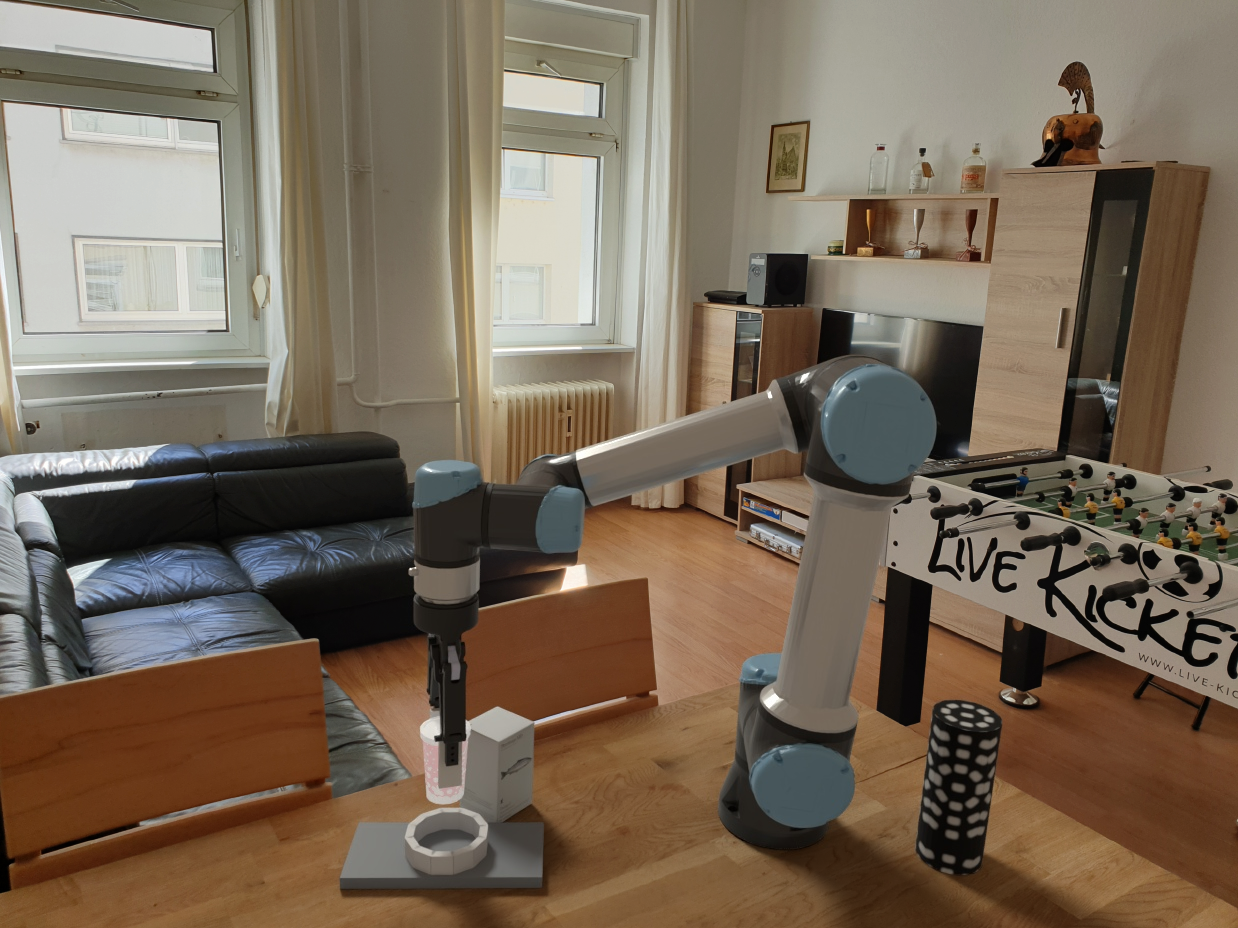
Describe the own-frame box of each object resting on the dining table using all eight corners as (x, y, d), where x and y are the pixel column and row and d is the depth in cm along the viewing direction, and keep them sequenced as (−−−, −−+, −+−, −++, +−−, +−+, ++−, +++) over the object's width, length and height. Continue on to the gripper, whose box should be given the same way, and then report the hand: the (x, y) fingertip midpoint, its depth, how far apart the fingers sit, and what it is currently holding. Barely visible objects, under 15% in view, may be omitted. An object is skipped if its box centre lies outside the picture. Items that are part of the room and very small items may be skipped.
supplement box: (496, 828, 125) (497, 742, 122) (457, 807, 129) (457, 723, 126) (534, 804, 131) (536, 721, 128) (495, 784, 135) (496, 703, 132)
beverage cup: (440, 814, 112) (440, 706, 109) (409, 792, 116) (409, 688, 113) (480, 794, 117) (482, 690, 113) (449, 774, 121) (450, 673, 117)
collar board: (543, 832, 125) (544, 805, 124) (541, 887, 114) (542, 858, 113) (359, 832, 123) (358, 805, 122) (339, 888, 112) (338, 859, 111)
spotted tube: (912, 864, 121) (930, 722, 117) (917, 828, 129) (934, 694, 124) (981, 882, 118) (1002, 737, 114) (982, 844, 126) (1002, 707, 121)
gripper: (403, 567, 118) (404, 735, 123) (425, 627, 100) (425, 819, 106) (463, 563, 120) (461, 728, 126) (495, 621, 103) (491, 809, 108)
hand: (445, 769), depth 116 cm, fingers closed on beverage cup, 6 cm apart
